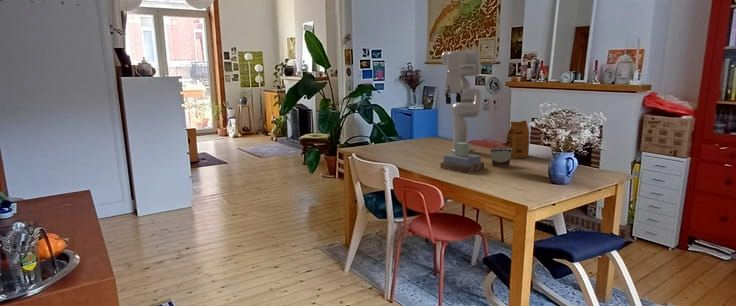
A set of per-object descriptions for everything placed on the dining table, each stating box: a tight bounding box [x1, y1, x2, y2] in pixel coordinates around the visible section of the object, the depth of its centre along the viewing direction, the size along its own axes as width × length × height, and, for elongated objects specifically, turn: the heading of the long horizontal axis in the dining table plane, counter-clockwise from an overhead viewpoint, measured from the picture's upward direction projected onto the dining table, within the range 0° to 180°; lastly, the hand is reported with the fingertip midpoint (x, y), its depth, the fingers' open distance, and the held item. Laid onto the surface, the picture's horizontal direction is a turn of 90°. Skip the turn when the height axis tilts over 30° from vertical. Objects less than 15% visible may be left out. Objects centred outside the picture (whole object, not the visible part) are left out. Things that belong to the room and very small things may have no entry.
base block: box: [439, 161, 485, 174], centre depth 264 cm, size 16×18×4 cm
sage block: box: [454, 142, 469, 157], centre depth 262 cm, size 5×5×7 cm
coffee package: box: [505, 120, 530, 160], centre depth 285 cm, size 10×12×22 cm
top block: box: [443, 152, 482, 167], centre depth 263 cm, size 12×16×4 cm
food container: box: [489, 146, 513, 167], centre depth 268 cm, size 12×6×10 cm, turn 84°
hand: (453, 103), depth 278 cm, fingers open, 9 cm apart
